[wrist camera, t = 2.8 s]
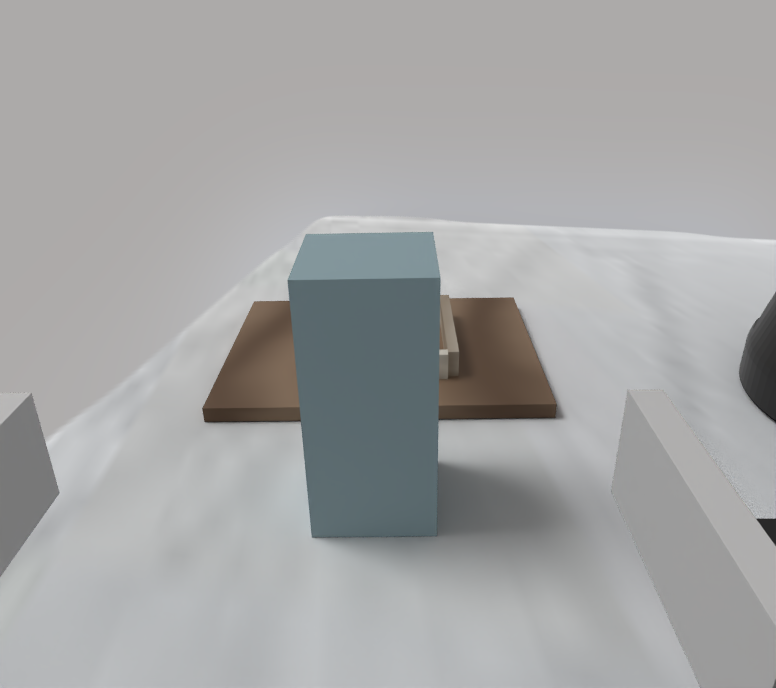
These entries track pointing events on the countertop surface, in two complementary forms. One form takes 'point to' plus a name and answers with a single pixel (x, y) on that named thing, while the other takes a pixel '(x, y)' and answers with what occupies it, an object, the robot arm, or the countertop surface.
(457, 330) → the board
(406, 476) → the blue-grey tall block
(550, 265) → the countertop surface
